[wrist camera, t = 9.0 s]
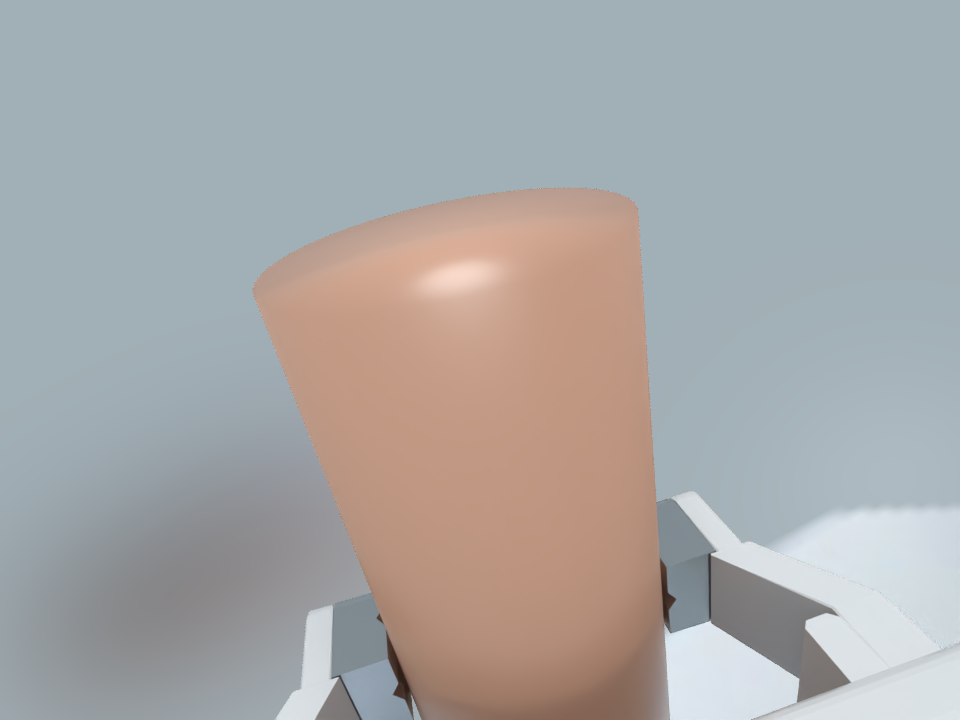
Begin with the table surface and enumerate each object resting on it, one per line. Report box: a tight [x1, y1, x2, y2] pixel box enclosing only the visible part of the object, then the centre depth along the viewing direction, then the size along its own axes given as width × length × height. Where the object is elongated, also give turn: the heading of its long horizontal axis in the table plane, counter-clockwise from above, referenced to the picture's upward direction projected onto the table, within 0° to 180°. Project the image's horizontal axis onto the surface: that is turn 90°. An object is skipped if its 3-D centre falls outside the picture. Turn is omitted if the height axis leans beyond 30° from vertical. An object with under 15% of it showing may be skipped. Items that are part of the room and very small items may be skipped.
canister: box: [253, 188, 670, 720], centre depth 11 cm, size 5×5×18 cm
